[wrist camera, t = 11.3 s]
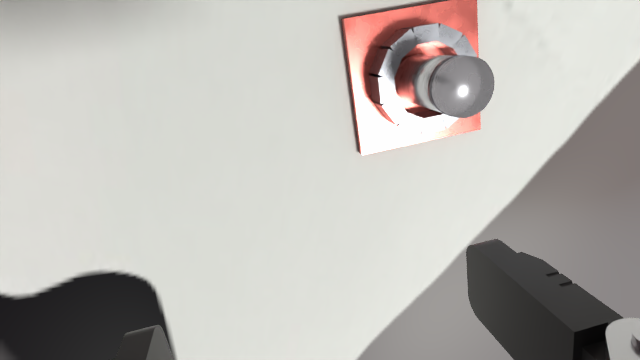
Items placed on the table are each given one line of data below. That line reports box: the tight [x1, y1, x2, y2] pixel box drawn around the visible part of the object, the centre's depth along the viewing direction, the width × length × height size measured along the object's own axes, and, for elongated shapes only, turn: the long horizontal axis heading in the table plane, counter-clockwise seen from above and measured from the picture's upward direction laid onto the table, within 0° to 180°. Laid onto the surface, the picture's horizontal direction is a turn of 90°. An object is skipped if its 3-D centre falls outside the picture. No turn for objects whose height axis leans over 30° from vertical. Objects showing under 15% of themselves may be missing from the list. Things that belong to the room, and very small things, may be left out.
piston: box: [395, 54, 494, 118], centre depth 39 cm, size 5×5×10 cm
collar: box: [341, 0, 481, 155], centre depth 43 cm, size 14×14×4 cm
